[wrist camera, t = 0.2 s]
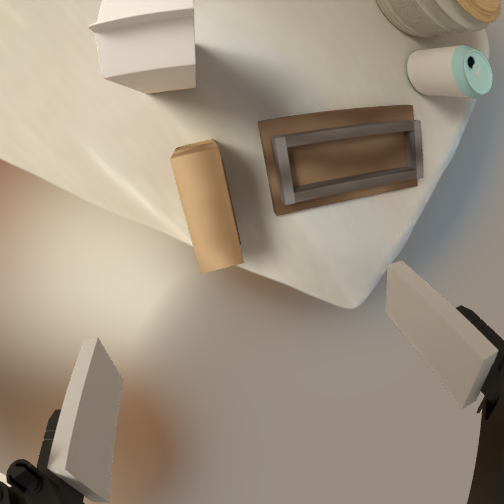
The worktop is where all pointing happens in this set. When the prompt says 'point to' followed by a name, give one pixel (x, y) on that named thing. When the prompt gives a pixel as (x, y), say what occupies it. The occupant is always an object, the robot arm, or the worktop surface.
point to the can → (450, 72)
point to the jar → (439, 15)
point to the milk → (147, 44)
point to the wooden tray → (340, 155)
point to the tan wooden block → (207, 205)
